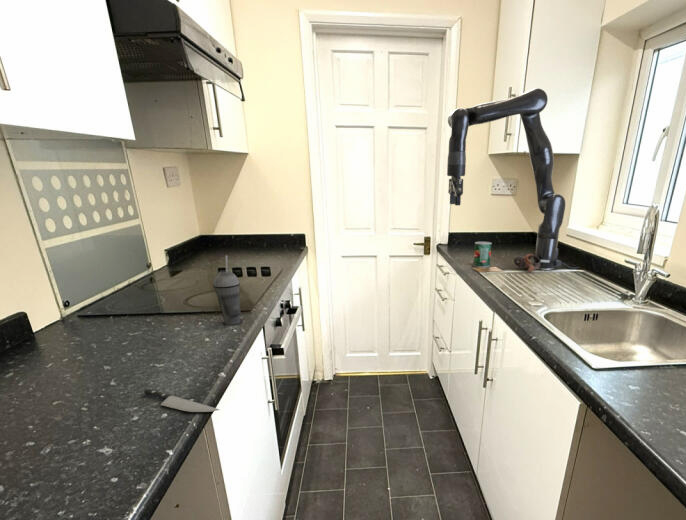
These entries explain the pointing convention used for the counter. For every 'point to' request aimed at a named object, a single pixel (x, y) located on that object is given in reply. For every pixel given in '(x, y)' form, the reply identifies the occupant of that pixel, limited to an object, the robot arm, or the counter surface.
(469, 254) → the counter surface
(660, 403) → the counter surface
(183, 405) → the chef's knife
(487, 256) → the canned tomato
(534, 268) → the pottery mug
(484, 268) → the trivet
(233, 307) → the beverage cup
